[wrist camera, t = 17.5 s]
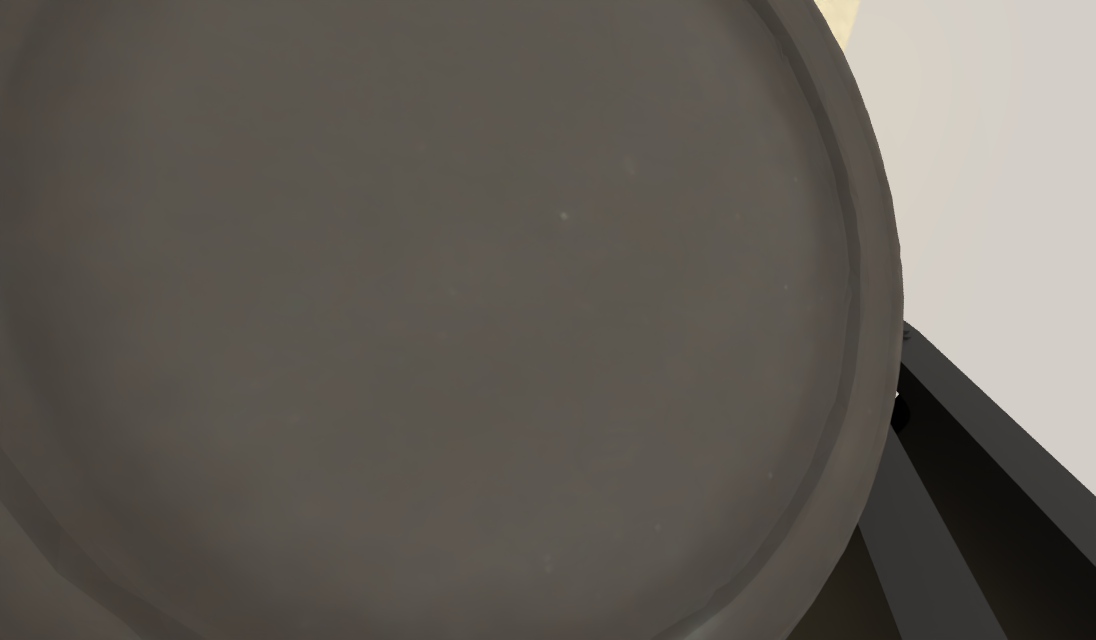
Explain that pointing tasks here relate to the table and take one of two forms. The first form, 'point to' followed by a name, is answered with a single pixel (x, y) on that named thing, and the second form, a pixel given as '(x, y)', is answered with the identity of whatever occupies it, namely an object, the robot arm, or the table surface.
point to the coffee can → (435, 318)
